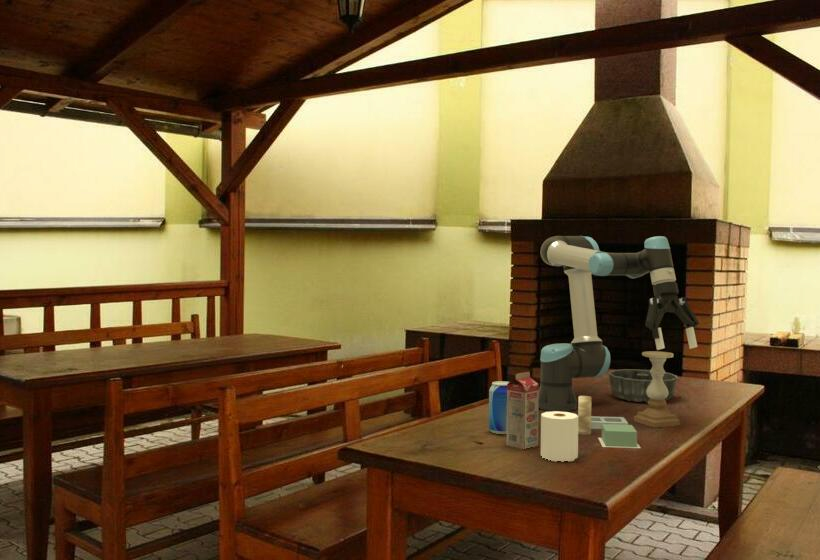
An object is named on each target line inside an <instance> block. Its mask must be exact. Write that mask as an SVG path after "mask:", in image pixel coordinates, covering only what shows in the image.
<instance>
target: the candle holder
mask: <svg viewBox="0 0 820 560" xmlns="http://www.w3.org/2000/svg"><path fill="white" fill-rule="evenodd" d="M641 355H642V356H643V357H645V358H649V361H650V363H651V366H652V367H651V369H649V370H650V373H651V375H652V381H651V383H650V384H649V386H648V387H647V389H646V394H647V396H648V397H649V398H650V400H649V401H648V403H647V405H648V407H647V408H646V409H645V410H643V411H638V412H637V413H636V415H634V416H633V422H635V423H637V424H641V425H644V426H647V427H650V428H654V429H658V428H659V427H661V428H669V427H668V426H671V427H679V426H678V425H680V426H681V420H680V419H679V418H678V415H677V414H674V413H671V412H670V411H669V410H668V409H666V406H667V404H668V403H667V400H666V401H665V400H664V399H665V398H666V397H667V396H668V394H669V392H668V389H667V387H666V386H665V384H664V382H663V376H664V374H665V373H667V372H666V371H665V369H664V365H665V362H666V361H667V359H670V358H674V353H673V352H668V351H660V350H655V351H654V350H653V351H651V350H650V351H642V352H641ZM659 429H660V428H659Z"/></svg>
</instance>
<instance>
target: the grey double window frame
mask: <svg viewBox="0 0 820 560" xmlns="http://www.w3.org/2000/svg"><path fill="white" fill-rule="evenodd" d="M602 424H614V425H629V423H628V421H627V420H626V418H625V417H623V416H596V415H595V416H593V415H591V430H602Z"/></svg>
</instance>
